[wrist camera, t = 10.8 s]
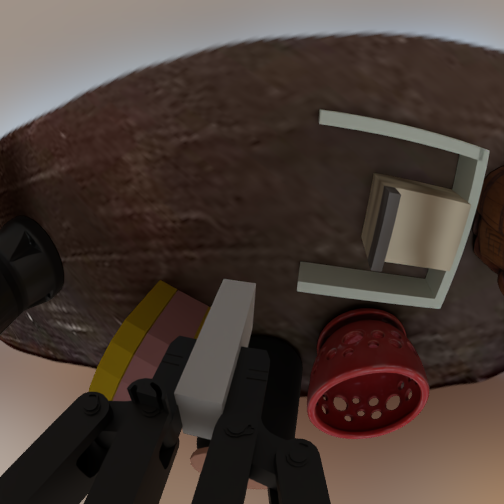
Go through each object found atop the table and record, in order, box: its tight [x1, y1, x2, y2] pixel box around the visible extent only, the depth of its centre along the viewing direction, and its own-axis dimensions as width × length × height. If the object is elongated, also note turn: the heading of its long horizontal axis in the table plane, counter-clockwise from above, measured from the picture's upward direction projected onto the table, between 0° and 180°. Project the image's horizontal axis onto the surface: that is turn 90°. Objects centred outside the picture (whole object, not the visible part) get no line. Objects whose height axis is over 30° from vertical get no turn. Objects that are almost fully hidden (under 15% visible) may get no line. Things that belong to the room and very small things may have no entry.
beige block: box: [361, 173, 471, 272], centre depth 26 cm, size 9×7×7 cm
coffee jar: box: [190, 336, 302, 489], centre depth 34 cm, size 11×11×18 cm
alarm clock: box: [89, 280, 211, 401], centre depth 34 cm, size 15×8×18 cm, turn 154°
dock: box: [297, 109, 490, 309], centre depth 27 cm, size 16×17×4 cm
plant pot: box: [307, 308, 429, 439], centre depth 32 cm, size 13×13×12 cm
